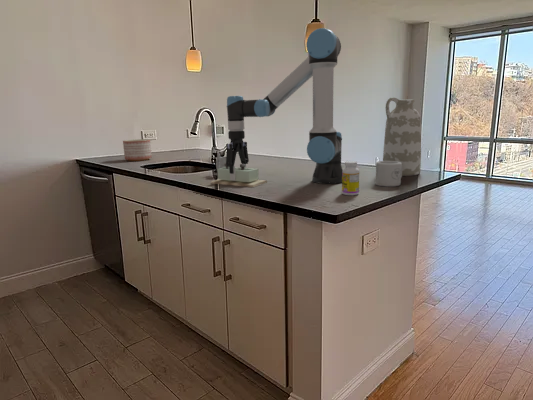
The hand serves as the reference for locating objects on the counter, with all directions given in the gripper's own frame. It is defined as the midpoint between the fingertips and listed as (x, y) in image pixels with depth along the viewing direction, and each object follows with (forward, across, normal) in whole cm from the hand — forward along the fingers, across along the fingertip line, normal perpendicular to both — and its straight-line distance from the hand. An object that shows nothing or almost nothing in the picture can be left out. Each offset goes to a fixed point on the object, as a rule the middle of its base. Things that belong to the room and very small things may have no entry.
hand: (238, 178), depth 187 cm
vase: (+2, -56, +62) cm, 84 cm away
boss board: (+2, 0, 0) cm, 2 cm away
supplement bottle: (+2, +3, +56) cm, 56 cm away
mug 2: (+2, -24, +65) cm, 70 cm away
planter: (+2, -51, -127) cm, 137 cm away
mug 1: (+2, -16, -21) cm, 26 cm away
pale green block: (0, 0, 0) cm, 0 cm away
